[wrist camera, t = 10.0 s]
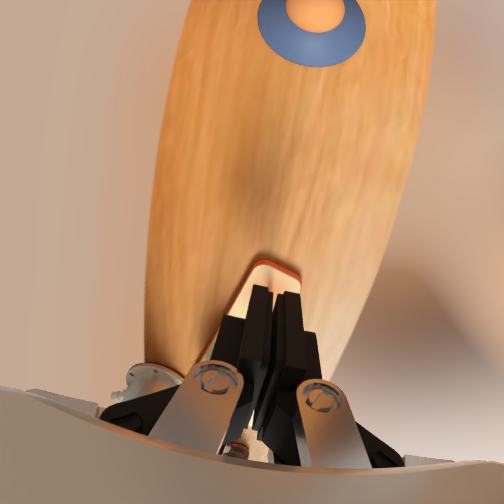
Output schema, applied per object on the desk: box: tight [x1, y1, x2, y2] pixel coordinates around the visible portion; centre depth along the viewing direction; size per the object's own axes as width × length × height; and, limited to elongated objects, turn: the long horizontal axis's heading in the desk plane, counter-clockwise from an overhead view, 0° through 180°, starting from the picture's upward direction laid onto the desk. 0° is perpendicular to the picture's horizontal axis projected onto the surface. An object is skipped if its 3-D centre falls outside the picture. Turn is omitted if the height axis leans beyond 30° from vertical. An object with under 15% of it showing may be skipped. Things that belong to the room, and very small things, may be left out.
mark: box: [258, 0, 366, 67], centre depth 26 cm, size 12×12×1 cm
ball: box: [286, 0, 345, 33], centre depth 23 cm, size 6×6×6 cm
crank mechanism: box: [199, 259, 302, 426], centre depth 34 cm, size 25×7×19 cm, turn 154°
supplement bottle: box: [223, 443, 249, 460], centre depth 51 cm, size 6×6×11 cm
